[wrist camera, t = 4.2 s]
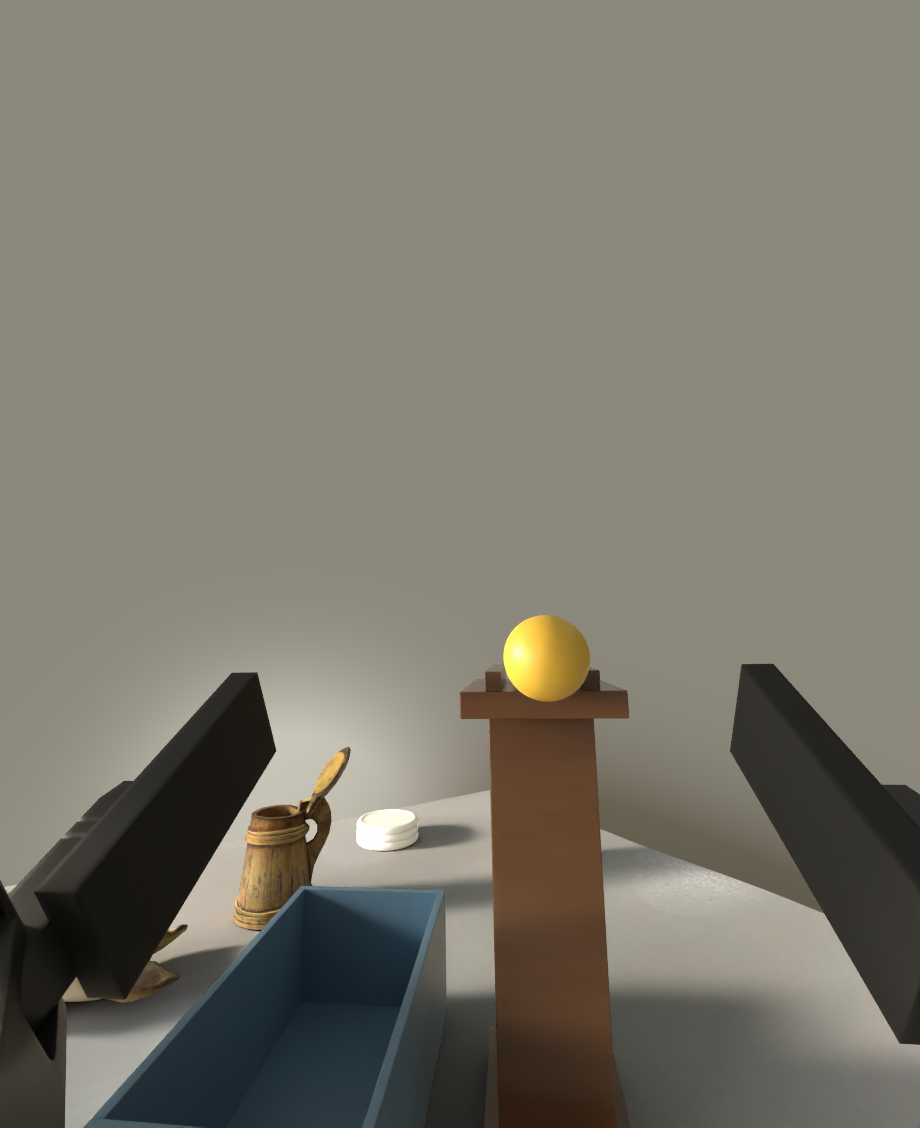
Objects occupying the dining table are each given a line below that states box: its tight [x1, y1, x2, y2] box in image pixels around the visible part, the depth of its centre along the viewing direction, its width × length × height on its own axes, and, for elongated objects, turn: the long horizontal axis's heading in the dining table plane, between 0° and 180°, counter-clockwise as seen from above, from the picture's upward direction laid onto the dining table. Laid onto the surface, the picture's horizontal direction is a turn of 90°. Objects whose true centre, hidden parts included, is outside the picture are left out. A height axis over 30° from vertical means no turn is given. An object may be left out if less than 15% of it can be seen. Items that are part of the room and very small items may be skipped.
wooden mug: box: [233, 747, 350, 930], centre depth 64 cm, size 9×14×18 cm, turn 117°
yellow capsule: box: [504, 615, 590, 702], centre depth 33 cm, size 20×4×4 cm, turn 174°
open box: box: [84, 886, 446, 1128], centre depth 34 cm, size 24×13×10 cm, turn 174°
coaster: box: [357, 809, 419, 851], centre depth 84 cm, size 10×10×4 cm
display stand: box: [460, 665, 631, 1128], centre depth 35 cm, size 13×10×29 cm
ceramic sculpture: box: [62, 924, 188, 1002], centre depth 48 cm, size 11×9×15 cm
